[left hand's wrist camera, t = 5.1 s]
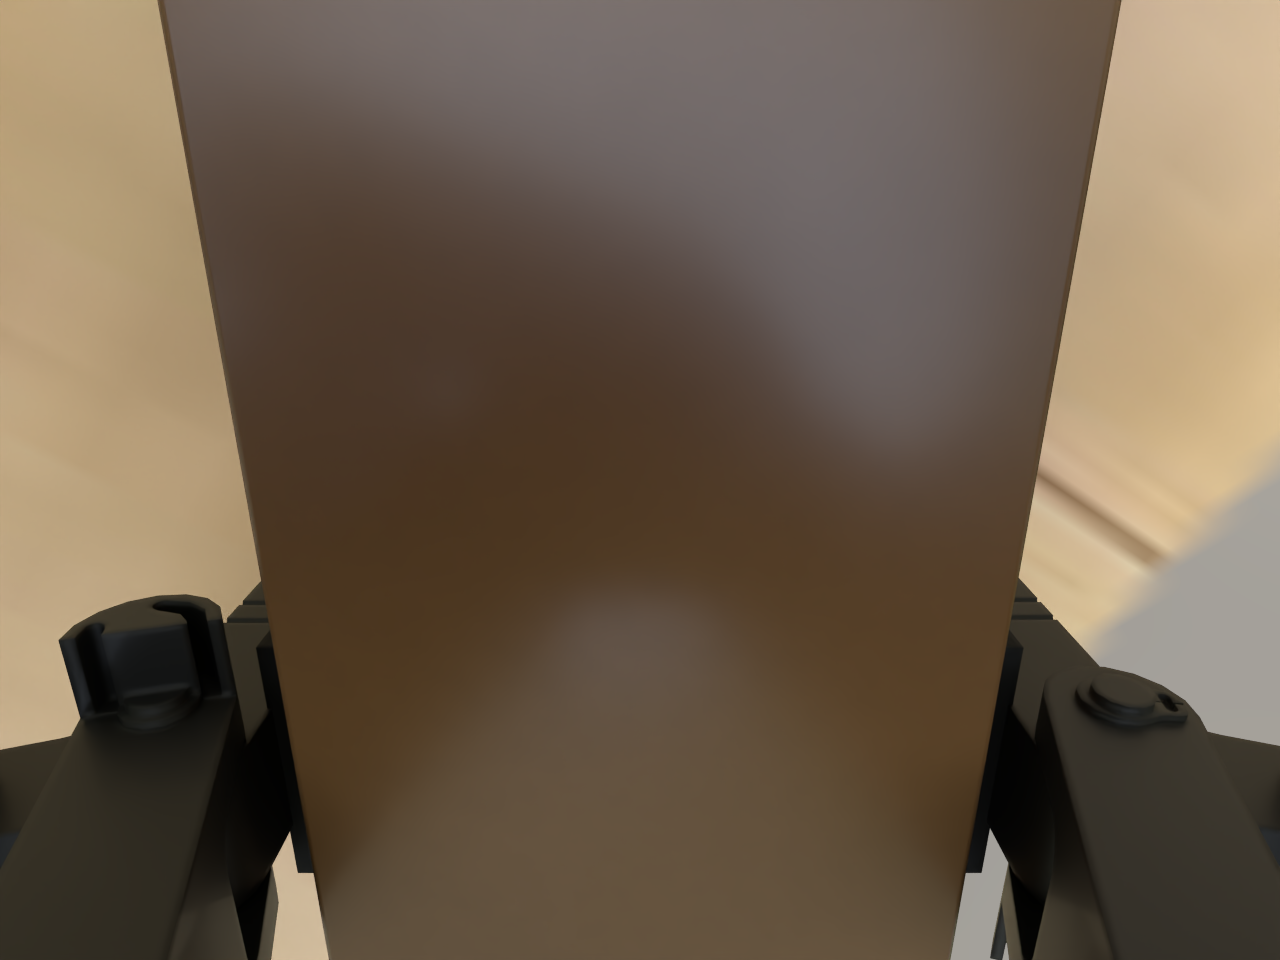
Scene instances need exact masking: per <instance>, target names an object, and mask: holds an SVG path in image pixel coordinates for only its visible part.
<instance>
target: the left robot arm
mask: <svg viewBox="0 0 1280 960" xmlns="http://www.w3.org/2000/svg"><path fill="white" fill-rule="evenodd" d="M59 644H60V647H61V651H62V654H63V658H64V661H65V665H66V669H67V672H68V676H69V679H70V683H71V686H72V690H73V693H74V697H75V700H76V704H77V707H78V711H79V715H80V720H79V722H78V724H77V726H76V728H75V730H74V732H73V733H72V735H71V736H69V737H65V738H61V739H56V740H50V741H45V742H40V743H34V744H29V745H24V746H19V747H13V748H8V749H3V750H0V960H271V956H272V948H273V941H274V933H275V925H276V918H277V910H278V903H279V902H278V895H277V888H276V883H275V878H274V873H273V868H272V864H273V863H274V861H275V859H276V857H277V855H278V853H279V851H280V849H281V847H282V845H283V843H284V842H285V840H286V838H287V836H288V834H289V832H290V833H291V838H292V844H293V849H294V854H295V860H296V865H297V870H298V873H314V872H313V867H312V861H311V856H310V850H309V844H308V839H307V833H306V828H305V822H304V816H303V811H302V805H301V800H300V794H299V789H298V783H297V777H296V772H295V766H294V761H293V755H292V749H291V744H290V738H289V733H288V727H287V721H286V716H285V710H284V705H283V699H282V693H281V688H280V682H279V677H278V671H277V665H276V660H275V654H274V649H273V643H272V637H271V632H270V626H269V621H268V615H267V610H266V604H265V598H264V593H263V587H262V582H260V583H259V584H258V585H257V586H256V587H255V588H254V589H253V590H252V592H251V593H250V594H249V595H248V596H247V597H246V598H245V599H244V600H243V605H239V606H238V607H237V608H236V609H235V610H234V611H233V613H232V614H231V615H230V616H229V617H228V618H227V623H223V619H222V614H221V609H220V606H218V605H217V604H215V603H214V602H212V601H211V600H210V599H208V598H203V597H198V596H192V595H187V594H185V595H161V596H154V597H149V598H144V599H139V600H134V601H129V602H126V603H123V604H120V605H117V606H114V607H112V608H109V609H106V610H103V611H100V612H98V613H96V614H94V615H92V616H90V617H89V618H87V619H85V620H83V621H81V622H79V623H78V624H76V625H74V626H73V627H72V628H71V629H70V630H69V631H68V632H67V633H66V634H65V635H64V636H63V637H62V638H60V639H59ZM990 829H991V831H992V832H993V834H994V836H995V838H996V840H997V842H998V844H999V846H1000V848H1001V849H1002V852H1003V853H1004V855H1005V857H1006V859H1007V861H1008V868H1007V873H1006V878H1005V883H1004V888H1003V893H1002V898H1001V903H1000V908H999V912H998V918H997V923H996V927H995V932H994V937H993V943H992V950H991V956H990V958H992V959H996V960H1002V958H1003V954H1004V949H1005V944H1006V943H1007V946H1008V954H1009V960H1280V746H1277V745H1271V744H1266V743H1261V742H1256V741H1250V740H1245V739H1240V738H1234V737H1229V736H1224V735H1219V734H1215V733H1211V732H1207V730H1206V728H1205V726H1204V724H1203V722H1202V721H1201V719H1200V717H1199V716H1198V715H1197V714H1196V712H1195V711H1194V710H1193V709H1192V708H1191V707H1190V705H1189V704H1188V703H1187V702H1186V701H1185V700H1184V699H1182V698H1181V697H1179V696H1178V695H1176V694H1174V693H1173V692H1171V691H1170V690H1168V689H1167V688H1165V687H1164V686H1162V685H1160V684H1157V683H1155V682H1152V681H1150V680H1148V679H1145V678H1143V677H1140V676H1138V675H1136V674H1132V673H1128V672H1124V671H1120V670H1115V669H1111V668H1106V667H1100V666H1099V665H1098V664H1097V663H1096V662H1095V661H1094V660H1093V659H1092V658H1091V657H1090V655H1089V654H1088V653H1087V652H1086V651H1085V650H1084V649H1083V648H1082V647H1081V646H1080V644H1079V643H1078V642H1077V641H1076V640H1075V639H1074V638H1073V637H1072V636H1071V635H1070V634H1069V632H1068V631H1067V630H1066V629H1065V628H1064V627H1063V626H1062V625H1061V624H1060V623H1059V621H1058V620H1053V615H1052V614H1051V613H1050V612H1049V611H1048V609H1047V608H1046V607H1045V606H1044V605H1043V604H1042V603H1041V602H1037V597H1036V596H1035V595H1034V594H1033V593H1032V592H1031V591H1030V590H1029V589H1028V588H1027V586H1026V585H1025V584H1024V583H1023V582H1022V581H1021V580H1020V579H1019V578H1018V582H1017V588H1016V594H1015V599H1014V605H1013V610H1012V616H1011V622H1010V627H1009V633H1008V639H1007V644H1006V650H1005V655H1004V661H1003V667H1002V672H1001V678H1000V683H999V689H998V695H997V700H996V706H995V711H994V717H993V723H992V728H991V734H990V739H989V745H988V751H987V756H986V762H985V767H984V773H983V779H982V784H981V790H980V795H979V801H978V807H977V812H976V818H975V823H974V829H973V835H972V840H971V846H970V851H969V857H968V863H967V868H966V873H981V872H982V867H983V862H984V857H985V851H986V846H987V841H988V835H989V830H990Z"/></svg>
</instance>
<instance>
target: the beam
mask: <svg viewBox="0 0 1280 960" xmlns="http://www.w3.org/2000/svg"><path fill="white" fill-rule="evenodd" d="M158 5H159V11H160V17H161V22H162V28H163V33H164V39H165V45H166V50H167V56H168V61H169V67H170V73H171V78H172V84H173V89H174V95H175V101H176V106H177V112H178V117H179V123H180V129H181V134H182V140H183V145H184V151H185V156H186V162H187V168H188V173H189V179H190V184H191V190H192V196H193V201H194V207H195V212H196V218H197V224H198V229H199V235H200V240H201V246H202V252H203V257H204V263H205V268H206V274H207V280H208V285H209V291H210V296H211V302H212V308H213V313H214V319H215V324H216V330H217V335H218V341H219V347H220V352H221V358H222V363H223V369H224V375H225V380H226V386H227V391H228V397H229V403H230V408H231V414H232V419H233V425H234V431H235V436H236V442H237V447H238V453H239V459H240V464H241V470H242V475H243V481H244V486H245V492H246V498H247V503H248V509H249V514H250V520H251V526H252V531H253V537H254V542H255V548H256V554H257V559H258V565H259V570H260V576H261V582H262V587H263V593H264V598H265V604H266V610H267V615H268V621H269V626H270V632H271V637H272V643H273V649H274V654H275V660H276V665H277V671H278V677H279V682H280V688H281V693H282V699H283V705H284V710H285V716H286V721H287V727H288V733H289V738H290V744H291V749H292V755H293V761H294V766H295V772H296V777H297V783H298V789H299V794H300V800H301V805H302V811H303V816H304V822H305V828H306V833H307V839H308V844H309V850H310V856H311V861H312V867H313V872H314V878H315V884H316V889H317V895H318V900H319V906H320V912H321V917H322V923H323V928H324V934H325V940H326V945H327V951H328V956H329V960H950V958H951V952H952V947H953V941H954V936H955V930H956V924H957V919H958V913H959V907H960V902H961V896H962V891H963V885H964V879H965V874H966V868H967V863H968V857H969V851H970V846H971V840H972V835H973V829H974V823H975V818H976V812H977V807H978V801H979V795H980V790H981V784H982V779H983V773H984V767H985V762H986V756H987V751H988V745H989V739H990V734H991V728H992V723H993V717H994V711H995V706H996V700H997V695H998V689H999V683H1000V678H1001V672H1002V667H1003V661H1004V655H1005V650H1006V644H1007V639H1008V633H1009V627H1010V622H1011V616H1012V610H1013V605H1014V599H1015V594H1016V588H1017V582H1018V577H1019V571H1020V566H1021V560H1022V554H1023V549H1024V543H1025V538H1026V532H1027V526H1028V521H1029V515H1030V510H1031V504H1032V498H1033V493H1034V487H1035V482H1036V476H1037V470H1038V465H1039V459H1040V454H1041V448H1042V442H1043V437H1044V431H1045V426H1046V420H1047V414H1048V409H1049V403H1050V398H1051V392H1052V386H1053V381H1054V375H1055V369H1056V364H1057V358H1058V353H1059V347H1060V341H1061V336H1062V330H1063V325H1064V319H1065V313H1066V308H1067V302H1068V297H1069V291H1070V285H1071V280H1072V274H1073V269H1074V263H1075V257H1076V252H1077V246H1078V241H1079V235H1080V229H1081V224H1082V218H1083V213H1084V207H1085V201H1086V196H1087V190H1088V185H1089V179H1090V173H1091V168H1092V162H1093V156H1094V151H1095V145H1096V140H1097V134H1098V128H1099V123H1100V117H1101V112H1102V106H1103V100H1104V95H1105V89H1106V84H1107V78H1108V72H1109V67H1110V61H1111V56H1112V50H1113V44H1114V39H1115V33H1116V28H1117V22H1118V16H1119V11H1120V5H1121V0H158Z"/></svg>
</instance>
